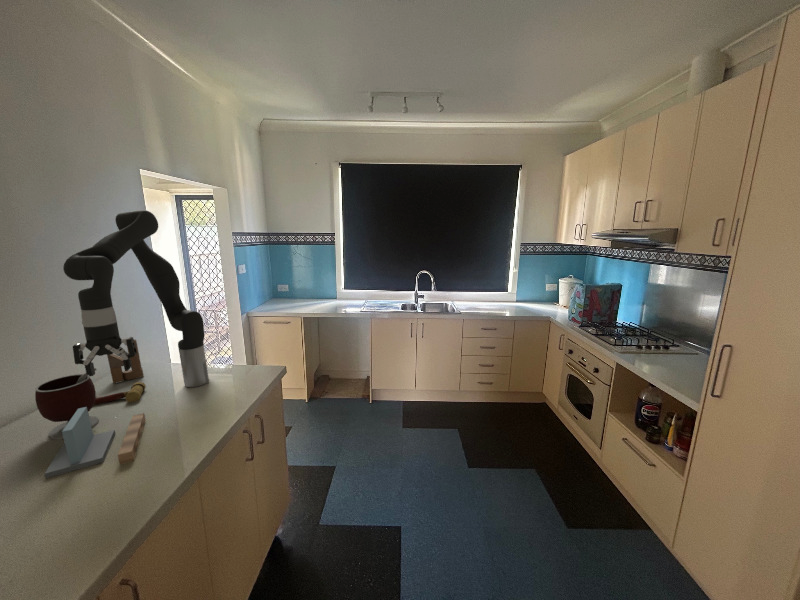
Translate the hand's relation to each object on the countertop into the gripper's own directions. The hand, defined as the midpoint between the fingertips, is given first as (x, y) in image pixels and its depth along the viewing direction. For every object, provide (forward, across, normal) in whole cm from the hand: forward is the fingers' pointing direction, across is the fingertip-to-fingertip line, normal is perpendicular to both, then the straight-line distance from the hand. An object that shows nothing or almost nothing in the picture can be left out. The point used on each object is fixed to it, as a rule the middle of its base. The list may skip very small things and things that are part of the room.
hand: (110, 372), depth 100 cm
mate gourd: (+23, +16, -15) cm, 33 cm away
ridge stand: (+23, +8, +4) cm, 25 cm away
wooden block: (+23, +13, -55) cm, 61 cm away
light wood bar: (+24, -3, +2) cm, 24 cm away
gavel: (+24, +13, -33) cm, 43 cm away
